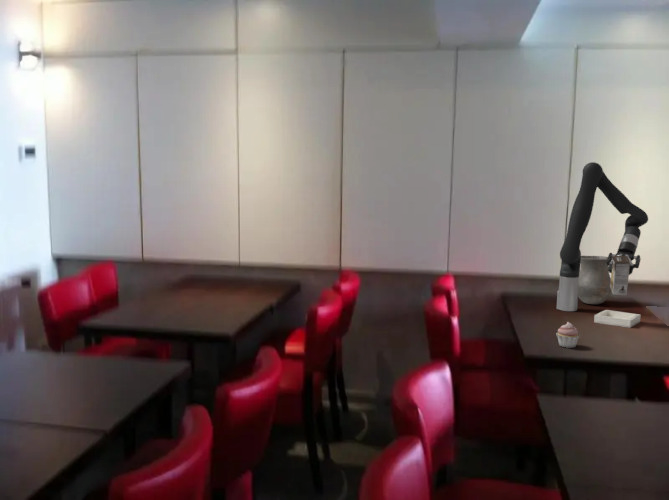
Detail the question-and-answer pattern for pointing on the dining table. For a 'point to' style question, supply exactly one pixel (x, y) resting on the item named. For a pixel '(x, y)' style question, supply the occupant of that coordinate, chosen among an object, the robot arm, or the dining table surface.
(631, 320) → the dish
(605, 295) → the vase
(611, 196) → the robot arm
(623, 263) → the coffee box
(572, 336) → the cupcake
